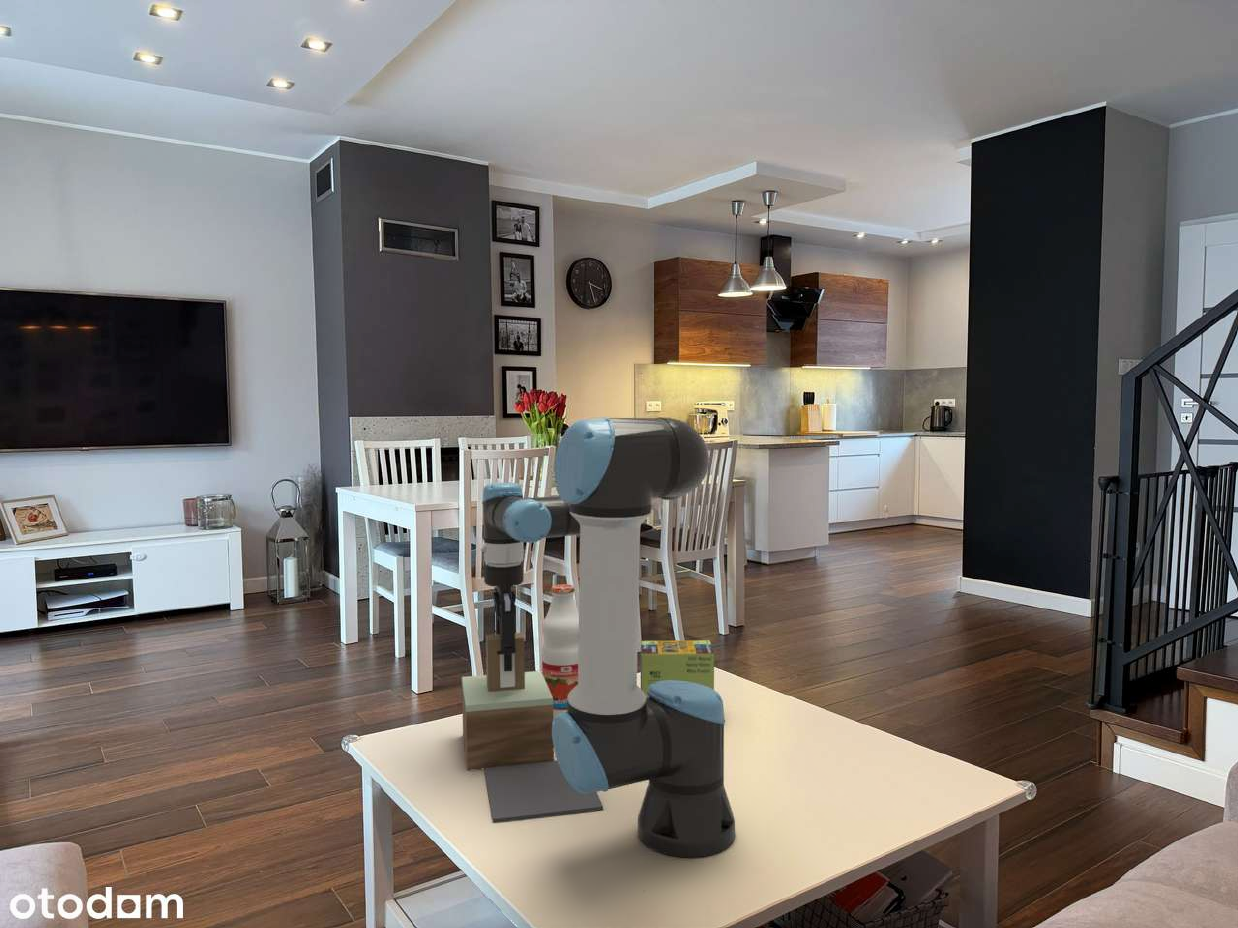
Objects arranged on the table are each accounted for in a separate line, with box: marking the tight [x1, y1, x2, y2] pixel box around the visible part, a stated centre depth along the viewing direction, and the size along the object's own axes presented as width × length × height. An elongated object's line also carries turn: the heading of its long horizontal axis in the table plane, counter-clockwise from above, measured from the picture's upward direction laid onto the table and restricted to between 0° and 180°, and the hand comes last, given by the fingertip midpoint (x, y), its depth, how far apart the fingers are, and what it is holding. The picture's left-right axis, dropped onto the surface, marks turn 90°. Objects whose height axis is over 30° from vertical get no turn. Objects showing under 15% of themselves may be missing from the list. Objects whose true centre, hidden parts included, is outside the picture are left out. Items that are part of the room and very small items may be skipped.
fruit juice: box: [541, 583, 579, 721], centre depth 184 cm, size 9×9×28 cm
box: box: [461, 685, 555, 771], centre depth 166 cm, size 17×16×11 cm
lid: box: [461, 632, 553, 712], centre depth 165 cm, size 17×16×11 cm
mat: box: [483, 760, 604, 823], centre depth 148 cm, size 20×18×1 cm
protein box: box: [640, 639, 715, 697], centre depth 182 cm, size 10×15×16 cm
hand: (505, 679), depth 165 cm, fingers open, 8 cm apart
